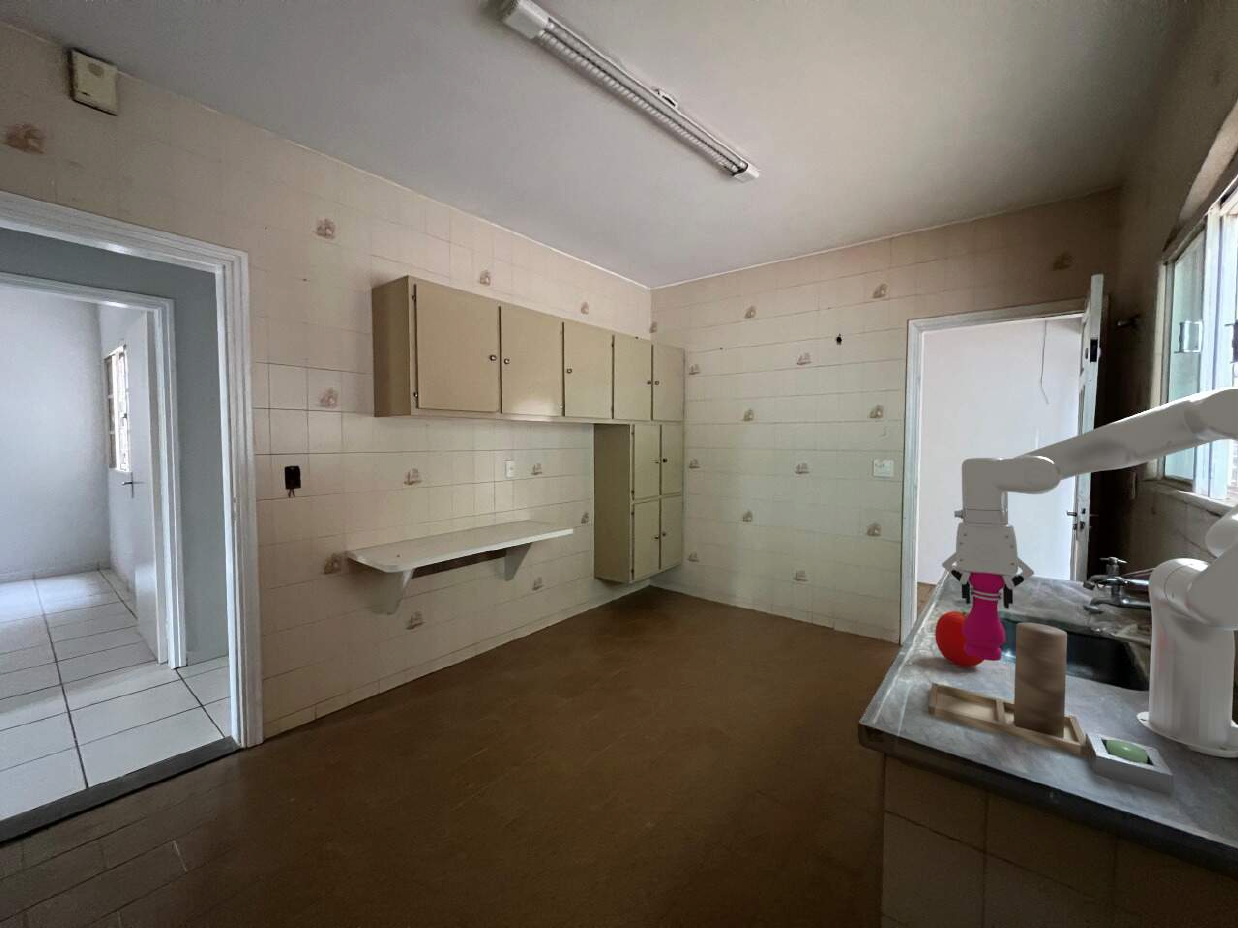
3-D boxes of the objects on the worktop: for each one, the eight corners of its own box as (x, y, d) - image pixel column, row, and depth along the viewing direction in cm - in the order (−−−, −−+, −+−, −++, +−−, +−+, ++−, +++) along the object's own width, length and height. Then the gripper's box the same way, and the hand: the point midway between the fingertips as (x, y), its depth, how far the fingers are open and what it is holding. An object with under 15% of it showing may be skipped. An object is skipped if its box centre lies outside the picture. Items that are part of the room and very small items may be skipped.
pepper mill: (1012, 664, 97) (1018, 564, 96) (971, 659, 98) (976, 562, 98) (992, 649, 104) (997, 556, 103) (954, 645, 106) (959, 554, 105)
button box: (1154, 773, 77) (1155, 748, 77) (1172, 802, 70) (1173, 775, 70) (1085, 754, 81) (1085, 730, 81) (1095, 780, 75) (1096, 755, 75)
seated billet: (1060, 726, 88) (1063, 627, 87) (1066, 744, 82) (1070, 639, 82) (1012, 714, 92) (1014, 619, 91) (1015, 731, 86) (1018, 630, 86)
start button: (1141, 771, 76) (1142, 745, 76) (1150, 786, 73) (1151, 760, 73) (1102, 760, 79) (1103, 736, 79) (1109, 775, 75) (1110, 749, 75)
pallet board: (1075, 730, 88) (1075, 716, 88) (1088, 762, 79) (1089, 747, 79) (931, 694, 101) (932, 682, 101) (928, 718, 92) (928, 705, 92)
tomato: (933, 651, 123) (934, 601, 123) (986, 661, 118) (988, 608, 117) (935, 668, 113) (937, 614, 113) (994, 679, 108) (995, 622, 108)
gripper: (934, 517, 103) (936, 603, 103) (1042, 521, 93) (1044, 616, 93) (936, 513, 109) (938, 594, 109) (1037, 517, 99) (1039, 606, 99)
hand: (986, 603), depth 101 cm, fingers closed on pepper mill, 5 cm apart
